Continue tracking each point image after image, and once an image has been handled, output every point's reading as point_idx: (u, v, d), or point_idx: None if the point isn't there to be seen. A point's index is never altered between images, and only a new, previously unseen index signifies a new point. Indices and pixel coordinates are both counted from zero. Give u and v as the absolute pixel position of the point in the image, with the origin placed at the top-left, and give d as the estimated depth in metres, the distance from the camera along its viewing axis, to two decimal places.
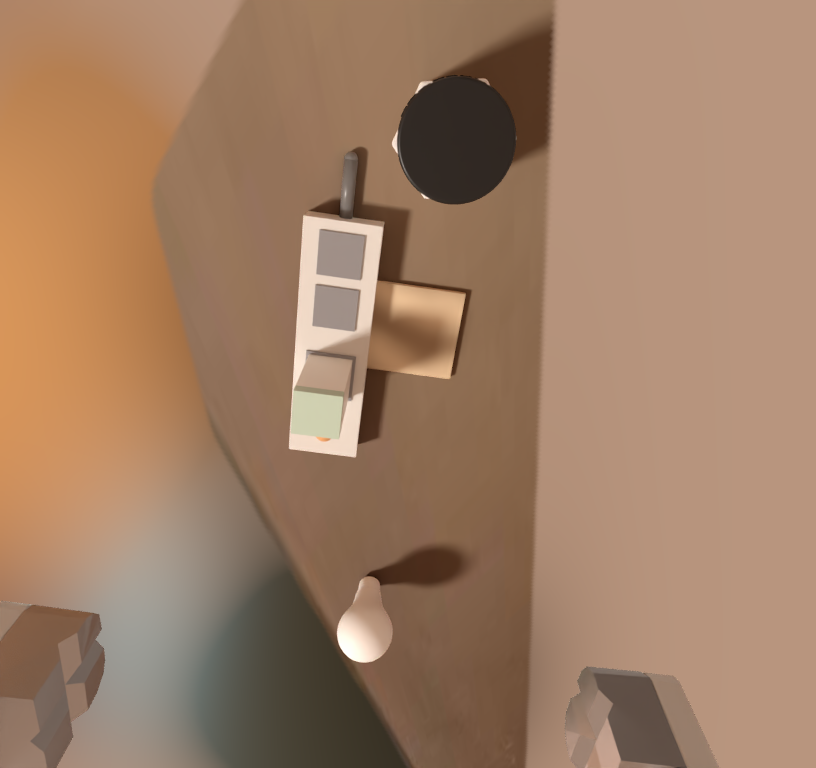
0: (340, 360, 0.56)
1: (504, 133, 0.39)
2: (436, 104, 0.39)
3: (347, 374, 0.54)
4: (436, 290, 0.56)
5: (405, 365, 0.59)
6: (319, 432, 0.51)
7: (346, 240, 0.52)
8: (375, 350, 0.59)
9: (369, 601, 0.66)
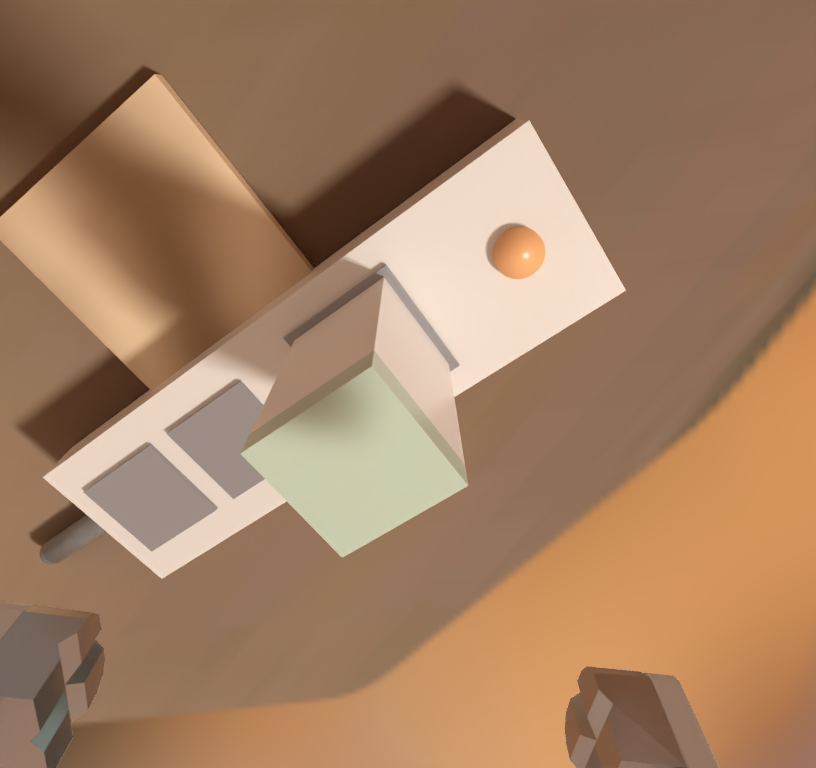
0: None
1: None
2: None
3: None
4: (48, 285, 0.24)
5: (229, 203, 0.22)
6: (398, 427, 0.15)
7: (120, 510, 0.26)
8: (262, 287, 0.24)
9: None
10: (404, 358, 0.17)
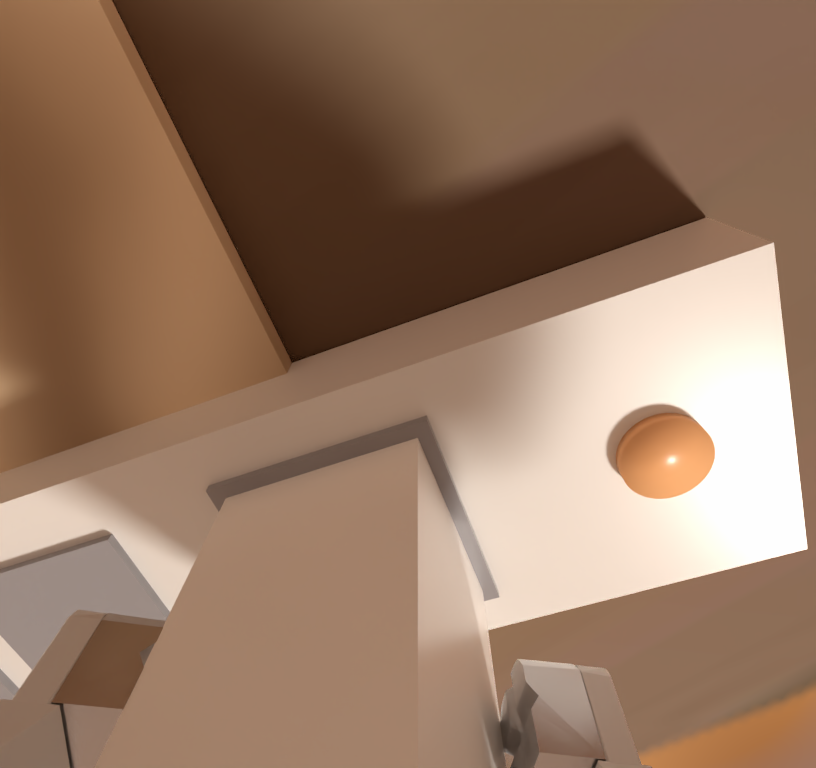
0: None
1: None
2: None
3: None
4: None
5: (165, 223, 0.12)
6: None
7: None
8: (193, 376, 0.13)
9: None
10: (453, 726, 0.07)
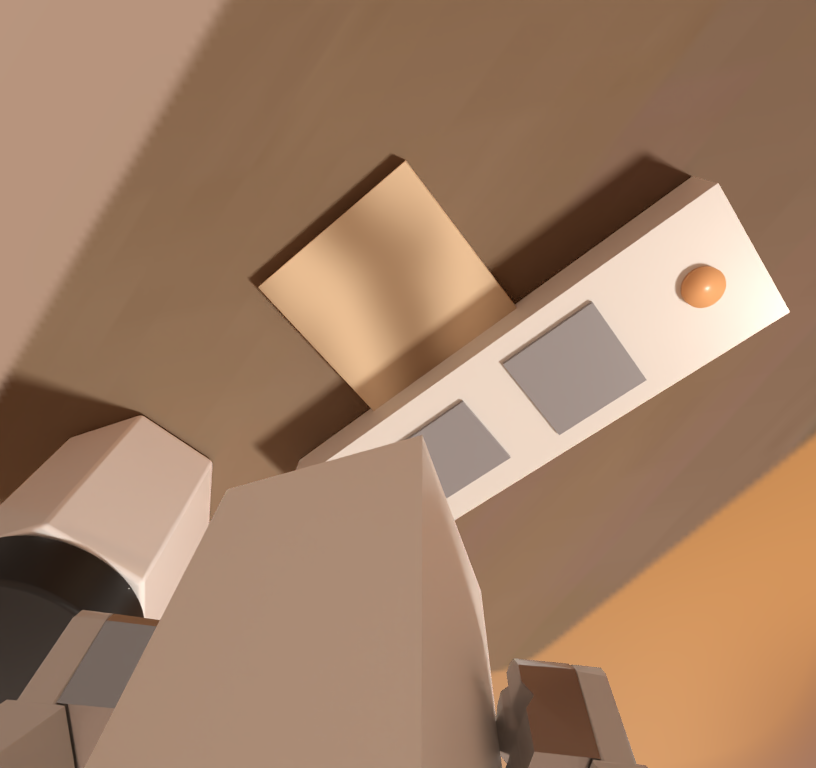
0: None
1: None
2: None
3: None
4: (299, 329, 0.29)
5: (454, 257, 0.27)
6: None
7: None
8: (474, 323, 0.29)
9: None
10: (454, 724, 0.07)
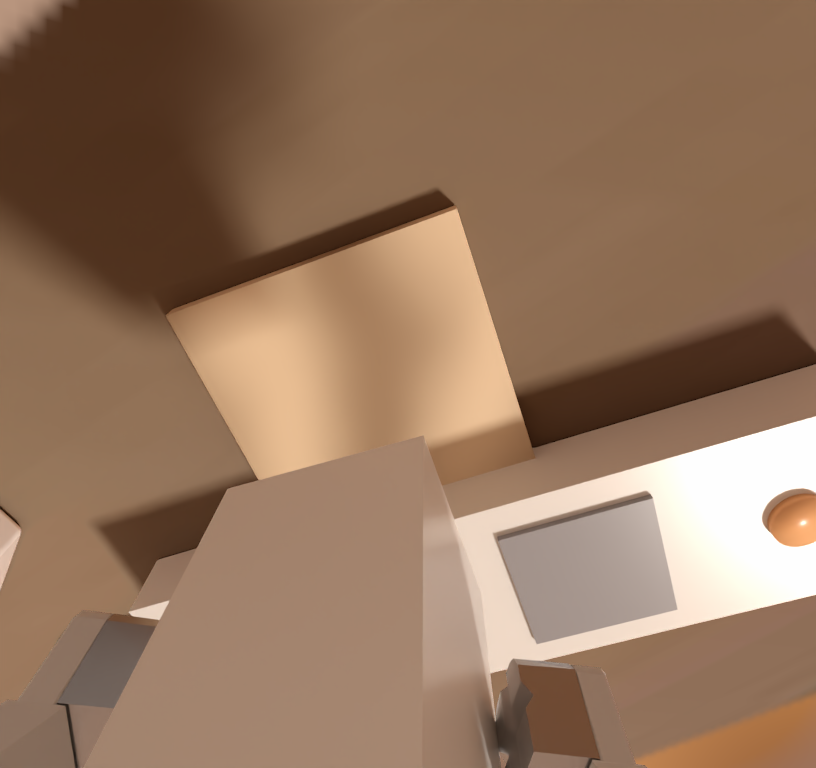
0: None
1: None
2: None
3: None
4: (213, 394, 0.18)
5: (477, 366, 0.18)
6: None
7: None
8: (471, 459, 0.19)
9: None
10: (454, 724, 0.07)
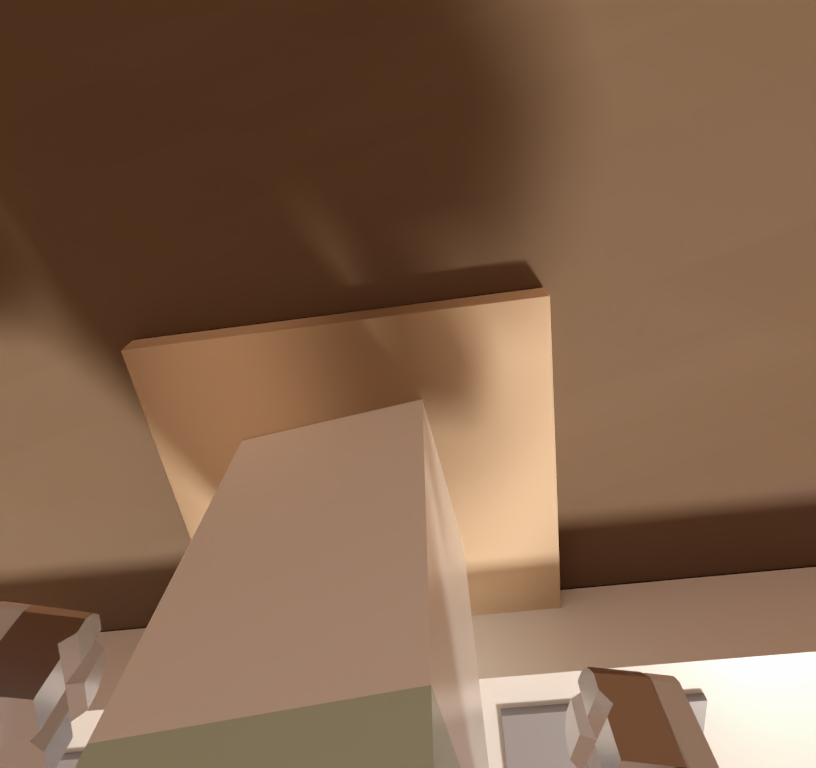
0: None
1: None
2: None
3: None
4: (166, 459, 0.14)
5: (520, 491, 0.14)
6: None
7: None
8: (481, 595, 0.15)
9: None
10: (448, 625, 0.09)
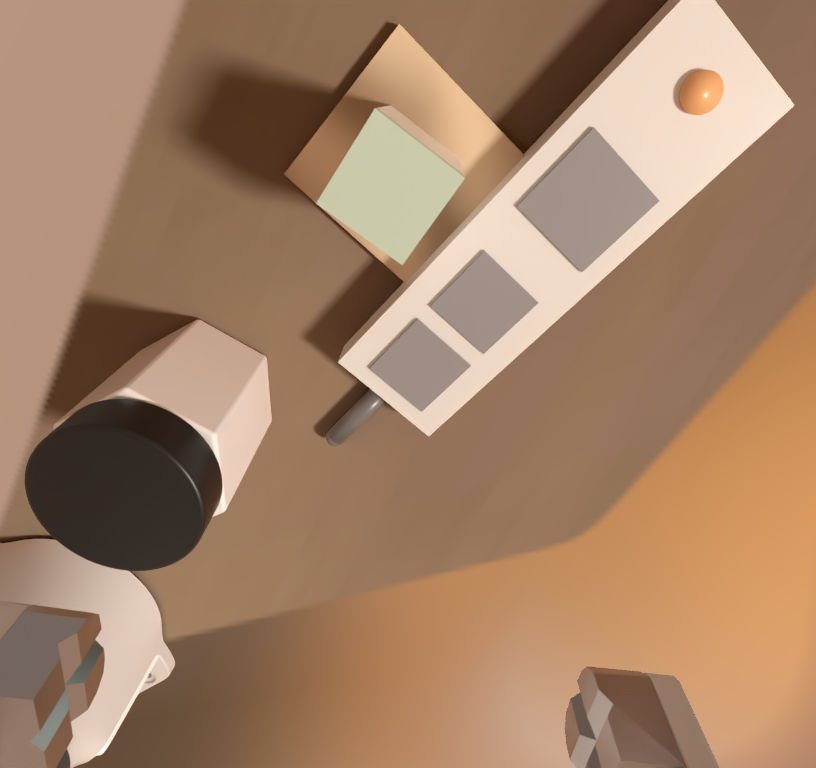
0: None
1: (40, 478, 0.26)
2: (125, 548, 0.28)
3: None
4: None
5: (458, 113, 0.29)
6: (405, 148, 0.22)
7: (396, 379, 0.33)
8: (486, 177, 0.30)
9: None
10: (407, 126, 0.25)
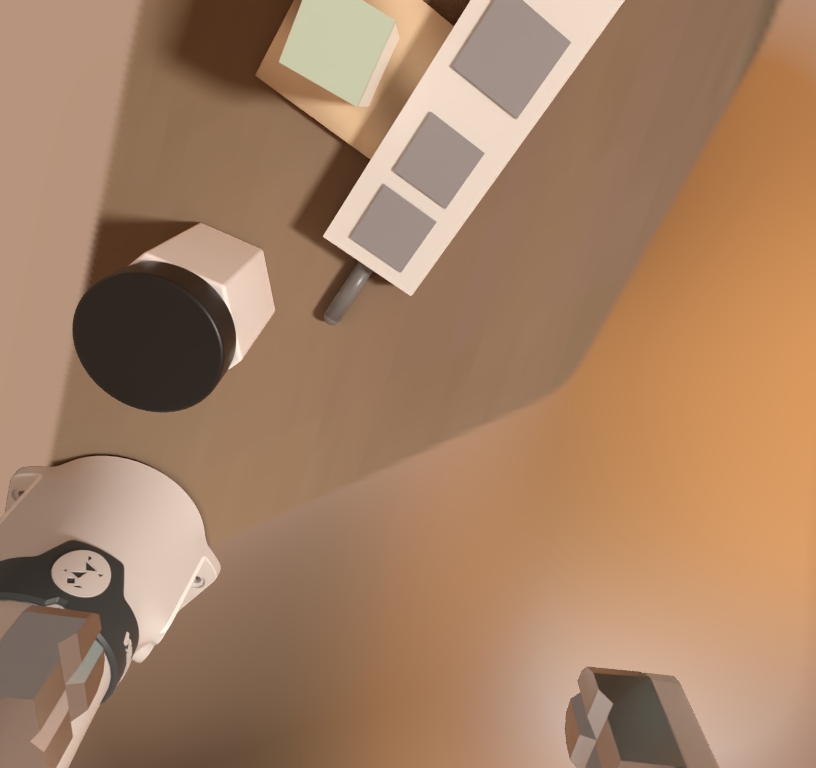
0: None
1: (85, 331, 0.31)
2: (161, 391, 0.33)
3: None
4: (295, 103, 0.37)
5: None
6: (343, 1, 0.28)
7: (375, 244, 0.38)
8: (425, 51, 0.35)
9: None
10: None
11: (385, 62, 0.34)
